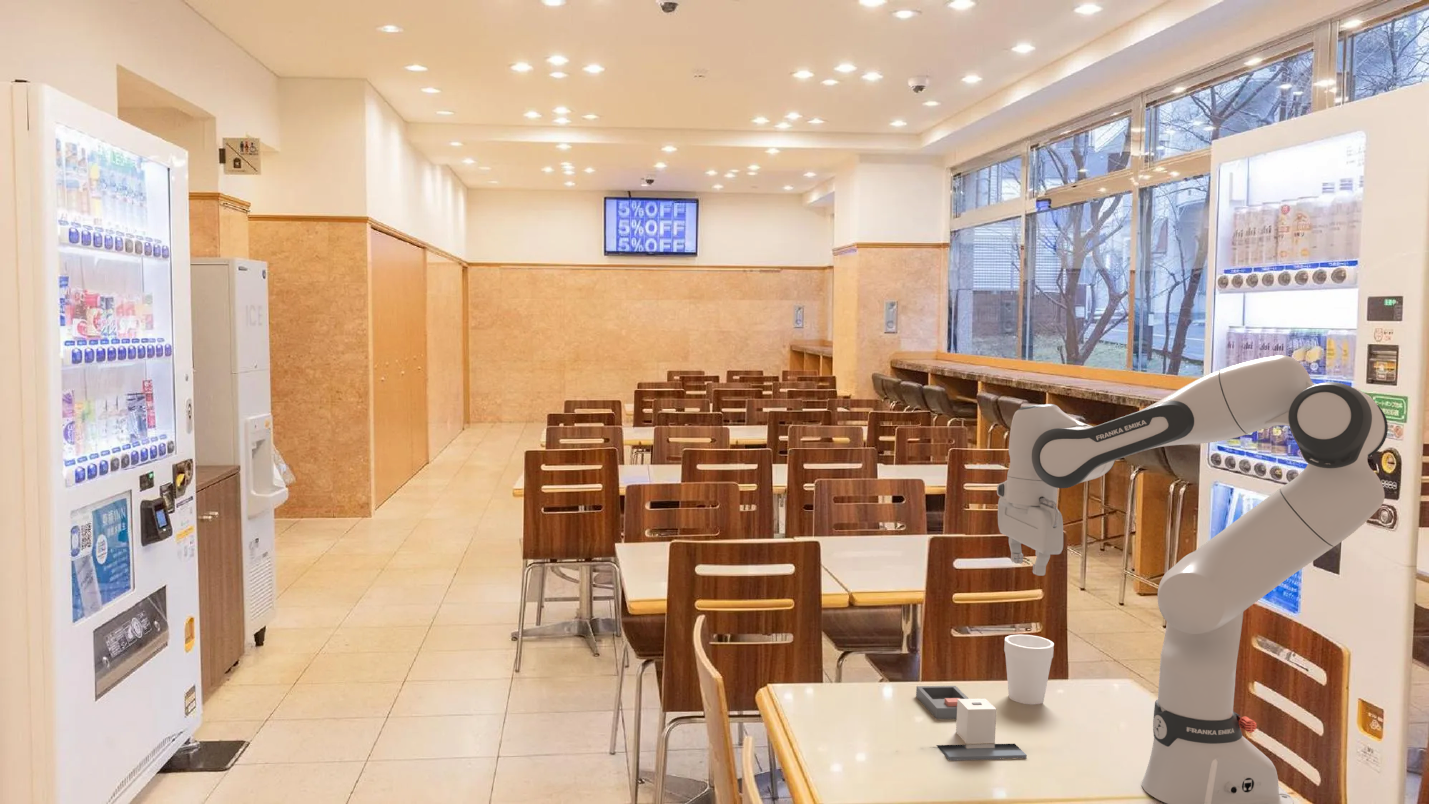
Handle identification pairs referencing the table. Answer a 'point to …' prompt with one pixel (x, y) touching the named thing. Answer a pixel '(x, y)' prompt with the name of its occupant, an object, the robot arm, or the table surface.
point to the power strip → (940, 700)
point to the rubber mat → (981, 752)
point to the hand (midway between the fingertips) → (1027, 568)
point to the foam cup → (1027, 667)
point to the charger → (976, 722)
